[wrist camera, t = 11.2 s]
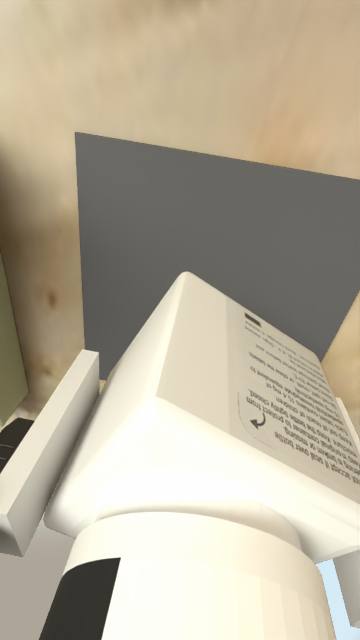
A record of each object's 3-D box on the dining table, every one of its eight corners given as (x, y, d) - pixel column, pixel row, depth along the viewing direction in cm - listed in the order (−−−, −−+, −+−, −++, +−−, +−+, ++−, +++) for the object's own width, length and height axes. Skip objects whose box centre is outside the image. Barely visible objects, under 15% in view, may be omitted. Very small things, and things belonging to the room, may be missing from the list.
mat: (291, 411, 25) (292, 415, 25) (88, 372, 26) (86, 376, 25) (407, 188, 16) (413, 189, 15) (78, 132, 16) (74, 132, 16)
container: (221, 432, 18) (220, 897, 7) (109, 371, 16) (-118, 848, 5) (319, 353, 14) (667, 1127, 3) (184, 265, 12) (-85, 1198, 2)
